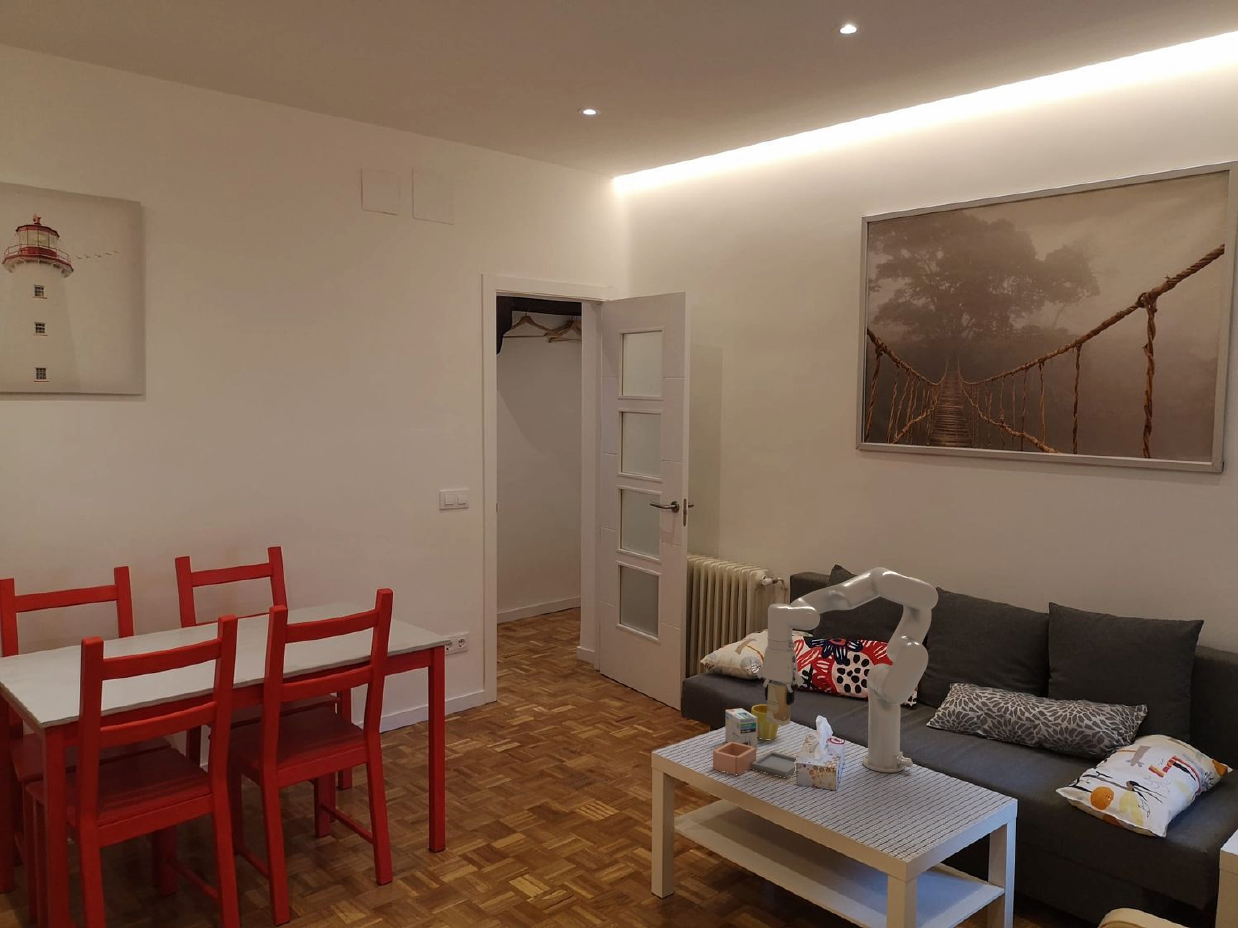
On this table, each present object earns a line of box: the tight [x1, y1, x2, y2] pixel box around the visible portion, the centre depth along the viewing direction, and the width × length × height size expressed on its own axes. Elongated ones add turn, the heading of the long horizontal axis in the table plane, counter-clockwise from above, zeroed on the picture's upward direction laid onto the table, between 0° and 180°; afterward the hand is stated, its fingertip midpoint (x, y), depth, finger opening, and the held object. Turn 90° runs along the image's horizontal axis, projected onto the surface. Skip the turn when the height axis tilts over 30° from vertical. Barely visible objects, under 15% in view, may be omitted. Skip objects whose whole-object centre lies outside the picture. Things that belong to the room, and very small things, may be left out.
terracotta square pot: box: [712, 742, 757, 776], centre depth 273 cm, size 9×11×6 cm
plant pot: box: [750, 704, 780, 740], centre depth 300 cm, size 10×10×10 cm
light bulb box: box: [724, 707, 758, 749], centre depth 292 cm, size 11×7×11 cm, turn 22°
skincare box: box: [766, 681, 792, 727], centre depth 272 cm, size 6×4×12 cm
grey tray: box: [750, 750, 798, 779], centre depth 273 cm, size 12×13×2 cm
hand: (779, 701), depth 272 cm, fingers closed on skincare box, 6 cm apart
